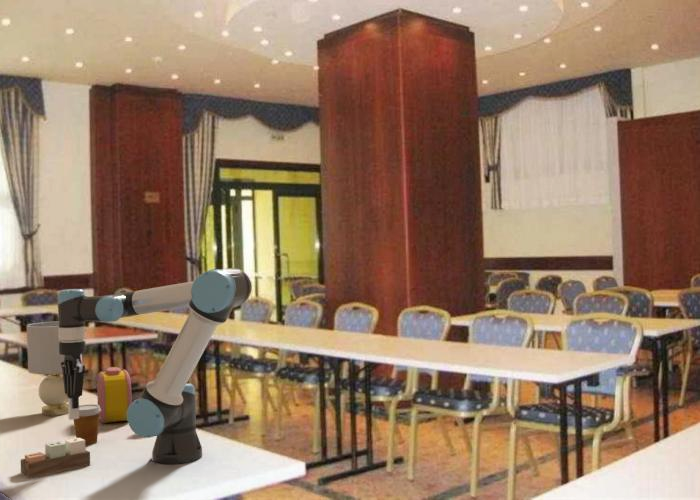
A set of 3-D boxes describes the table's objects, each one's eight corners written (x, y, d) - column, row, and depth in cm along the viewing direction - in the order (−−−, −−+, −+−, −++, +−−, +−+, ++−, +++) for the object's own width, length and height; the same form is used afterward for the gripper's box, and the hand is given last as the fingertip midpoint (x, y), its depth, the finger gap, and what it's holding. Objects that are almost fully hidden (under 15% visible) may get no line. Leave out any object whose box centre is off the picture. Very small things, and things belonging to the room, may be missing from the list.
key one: (85, 454, 238) (85, 439, 238) (71, 457, 235) (70, 442, 235) (79, 452, 241) (79, 437, 241) (65, 454, 239) (65, 439, 239)
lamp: (67, 419, 300) (64, 326, 300) (18, 418, 303) (16, 326, 303) (92, 407, 320) (90, 320, 319) (46, 407, 323) (44, 321, 323)
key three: (45, 470, 230) (45, 454, 230) (30, 473, 227) (29, 457, 227) (40, 467, 234) (39, 451, 234) (25, 470, 231) (24, 454, 231)
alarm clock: (132, 423, 290) (131, 371, 290) (101, 427, 286) (99, 373, 286) (127, 413, 308) (125, 364, 307) (97, 416, 304) (96, 366, 303)
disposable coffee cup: (92, 447, 259) (91, 410, 258) (66, 446, 261) (65, 409, 260) (107, 439, 268) (106, 404, 268) (81, 438, 270) (80, 403, 270)
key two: (65, 458, 234) (65, 443, 234) (51, 462, 231) (50, 446, 231) (60, 456, 238) (59, 440, 237) (45, 458, 235) (45, 443, 235)
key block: (90, 465, 238) (89, 451, 238) (29, 478, 226) (28, 464, 226) (81, 460, 243) (80, 447, 243) (20, 472, 231) (20, 459, 231)
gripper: (93, 341, 235) (94, 420, 236) (75, 337, 245) (77, 413, 246) (68, 344, 230) (69, 424, 231) (51, 339, 240) (53, 417, 241)
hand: (73, 418), depth 238 cm, fingers closed
